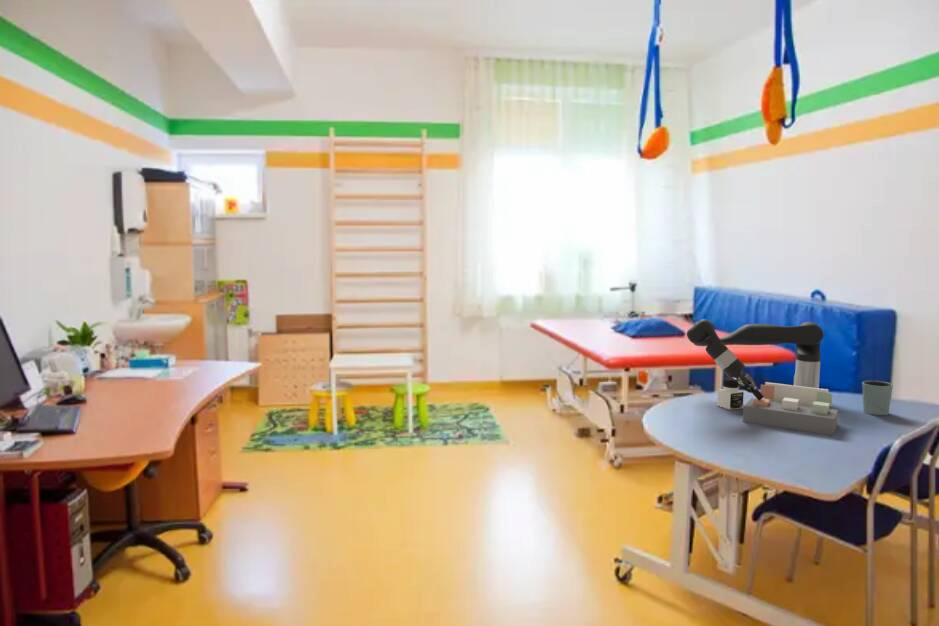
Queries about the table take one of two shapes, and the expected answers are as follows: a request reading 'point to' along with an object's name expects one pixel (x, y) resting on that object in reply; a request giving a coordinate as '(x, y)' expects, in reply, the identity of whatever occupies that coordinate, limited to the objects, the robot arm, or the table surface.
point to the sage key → (820, 408)
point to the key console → (792, 418)
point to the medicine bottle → (730, 395)
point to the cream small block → (790, 404)
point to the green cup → (876, 397)
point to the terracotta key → (761, 402)
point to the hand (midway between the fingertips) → (761, 398)
